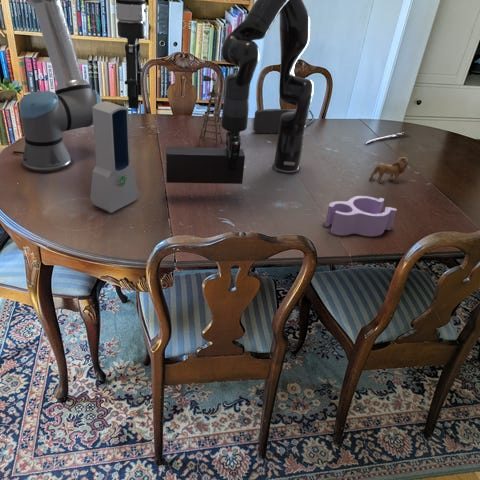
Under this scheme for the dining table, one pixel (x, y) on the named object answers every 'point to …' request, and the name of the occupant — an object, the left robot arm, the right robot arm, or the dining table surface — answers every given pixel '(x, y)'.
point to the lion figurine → (391, 169)
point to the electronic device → (112, 158)
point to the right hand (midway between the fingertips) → (230, 165)
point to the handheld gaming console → (268, 120)
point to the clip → (359, 216)
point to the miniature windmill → (212, 94)
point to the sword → (384, 137)
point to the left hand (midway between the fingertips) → (135, 101)
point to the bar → (202, 166)
